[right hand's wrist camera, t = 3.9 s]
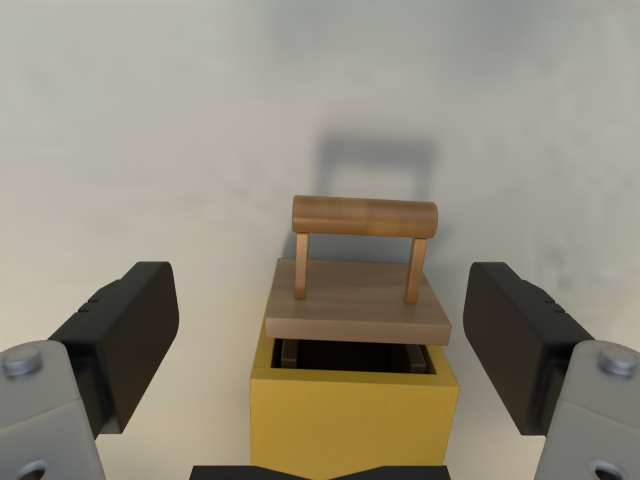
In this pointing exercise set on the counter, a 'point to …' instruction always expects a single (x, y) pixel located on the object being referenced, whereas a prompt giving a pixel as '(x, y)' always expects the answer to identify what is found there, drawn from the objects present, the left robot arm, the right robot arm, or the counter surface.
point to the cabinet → (347, 415)
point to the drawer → (356, 292)
